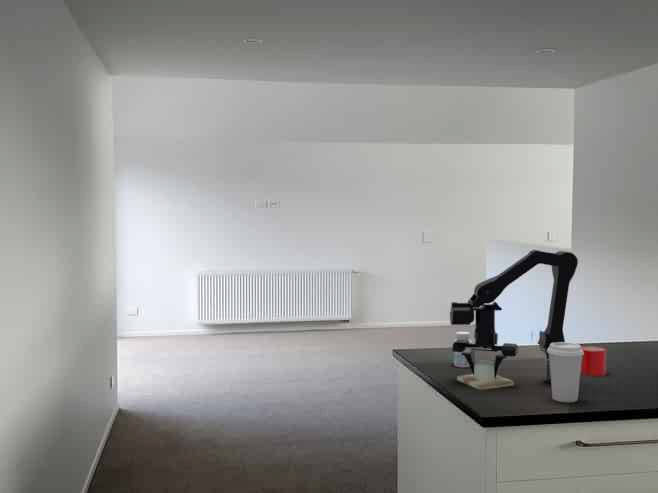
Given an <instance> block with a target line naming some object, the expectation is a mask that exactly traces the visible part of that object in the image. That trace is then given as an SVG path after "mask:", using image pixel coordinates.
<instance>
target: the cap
mask: <svg viewBox="0 0 658 493" xmlns="http://www.w3.org/2000/svg"><path fill="white" fill-rule="evenodd" d="M494 370H495V361H493V360H485V359H480V360H475V364H474V379H476V380H478V381H494V380H495V379H496V377H495V375H494Z"/></svg>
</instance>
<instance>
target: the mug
mask: <svg viewBox="0 0 658 493" xmlns="http://www.w3.org/2000/svg"><path fill="white" fill-rule="evenodd" d="M581 349H582V350H583V352H584V355H582V361H581V370H580V375H583V376H590V377H602V376H605V375H606V374H607V372H606V368H607V367H606V366H607V364H606V363H607V356H606V355H607V349H606V348H605V347H601V346H594V345H586V346H585V345H584V346H581Z"/></svg>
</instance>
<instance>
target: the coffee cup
mask: <svg viewBox="0 0 658 493" xmlns="http://www.w3.org/2000/svg"><path fill="white" fill-rule="evenodd" d="M581 347H582V346H581V345H580V343H579V344H578V343H575V342H566V341H565V342H555V343H551V344H550V347H549V348H548V349H547V352H548V353H549V360H548V361H550V373H551V383H550V384H551V395H552V396H551V397H552V400H553V401H557V402H561V403H575V402H577V401H578V400H579V398H578V397H579V388H580V378H581V373H580V370H581V361H582V355H584V352H583V350H582V349H581Z"/></svg>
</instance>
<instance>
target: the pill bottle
mask: <svg viewBox="0 0 658 493" xmlns="http://www.w3.org/2000/svg"><path fill="white" fill-rule="evenodd" d="M455 337H456V338H455V339H454V341H453V343H454V342H455V341H457V340H469V343H471V344H473V341H472V340H471V339H470V338H471V333H470V332H469V331H456V332H455ZM461 353H462V352H453V365H454V366H455V367H458V368H470V365H469V363H468V361H467V359H466V358H465V356H464V355H461Z"/></svg>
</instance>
